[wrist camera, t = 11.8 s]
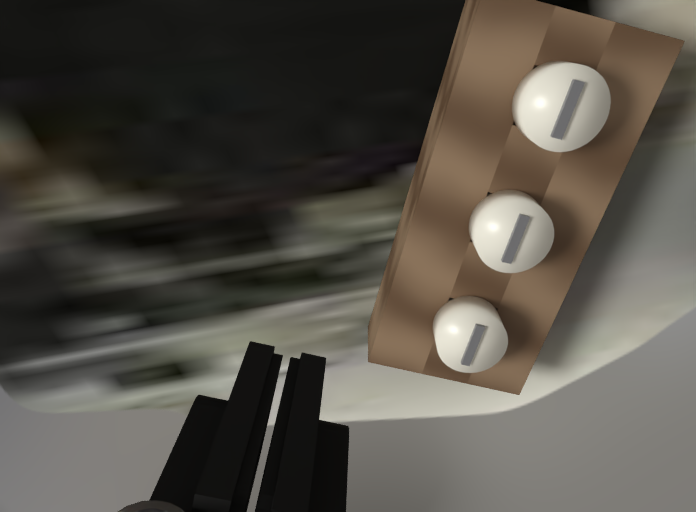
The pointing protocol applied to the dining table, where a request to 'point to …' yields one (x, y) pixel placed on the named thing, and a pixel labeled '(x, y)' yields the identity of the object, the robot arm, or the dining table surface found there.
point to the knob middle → (510, 231)
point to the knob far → (469, 334)
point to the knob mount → (509, 180)
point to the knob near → (561, 105)
